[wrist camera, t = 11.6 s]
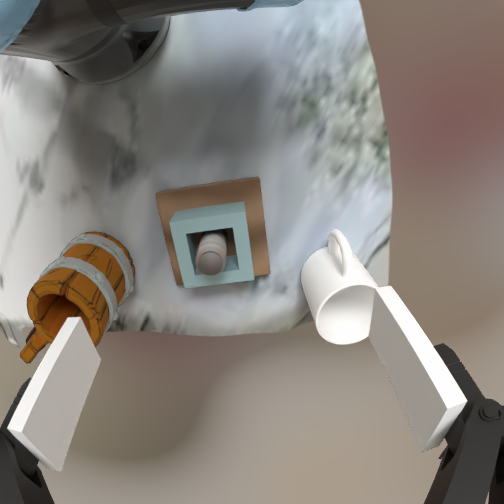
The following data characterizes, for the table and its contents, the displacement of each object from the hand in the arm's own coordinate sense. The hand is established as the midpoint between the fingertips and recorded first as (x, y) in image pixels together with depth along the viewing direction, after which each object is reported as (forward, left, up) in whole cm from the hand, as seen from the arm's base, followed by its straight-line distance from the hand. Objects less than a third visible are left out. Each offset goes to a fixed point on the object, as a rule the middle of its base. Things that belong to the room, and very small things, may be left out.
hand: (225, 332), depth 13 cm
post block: (+5, -3, -26) cm, 27 cm away
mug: (+9, -22, -26) cm, 35 cm away
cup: (+11, +11, -26) cm, 31 cm away
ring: (+5, -3, -25) cm, 25 cm away
